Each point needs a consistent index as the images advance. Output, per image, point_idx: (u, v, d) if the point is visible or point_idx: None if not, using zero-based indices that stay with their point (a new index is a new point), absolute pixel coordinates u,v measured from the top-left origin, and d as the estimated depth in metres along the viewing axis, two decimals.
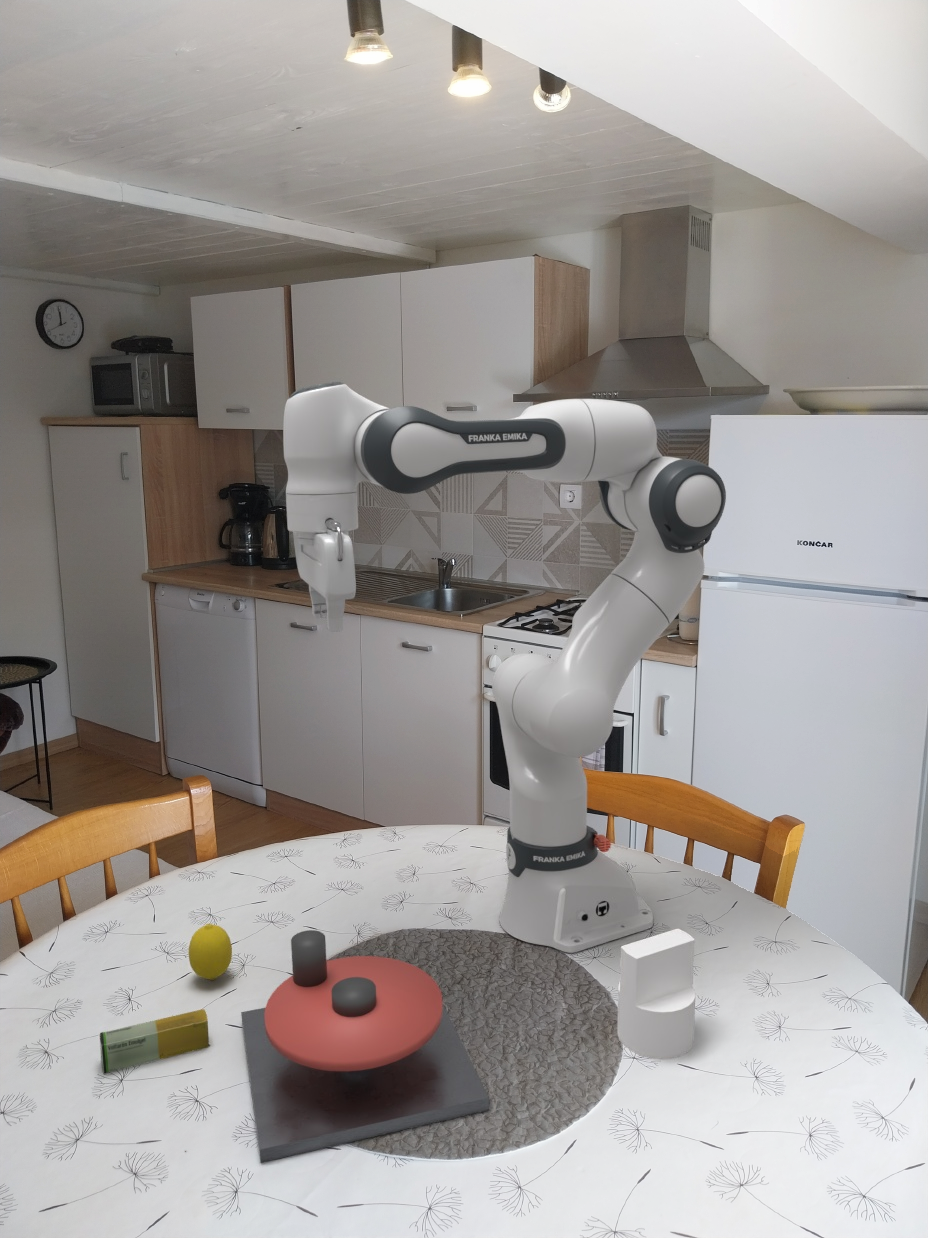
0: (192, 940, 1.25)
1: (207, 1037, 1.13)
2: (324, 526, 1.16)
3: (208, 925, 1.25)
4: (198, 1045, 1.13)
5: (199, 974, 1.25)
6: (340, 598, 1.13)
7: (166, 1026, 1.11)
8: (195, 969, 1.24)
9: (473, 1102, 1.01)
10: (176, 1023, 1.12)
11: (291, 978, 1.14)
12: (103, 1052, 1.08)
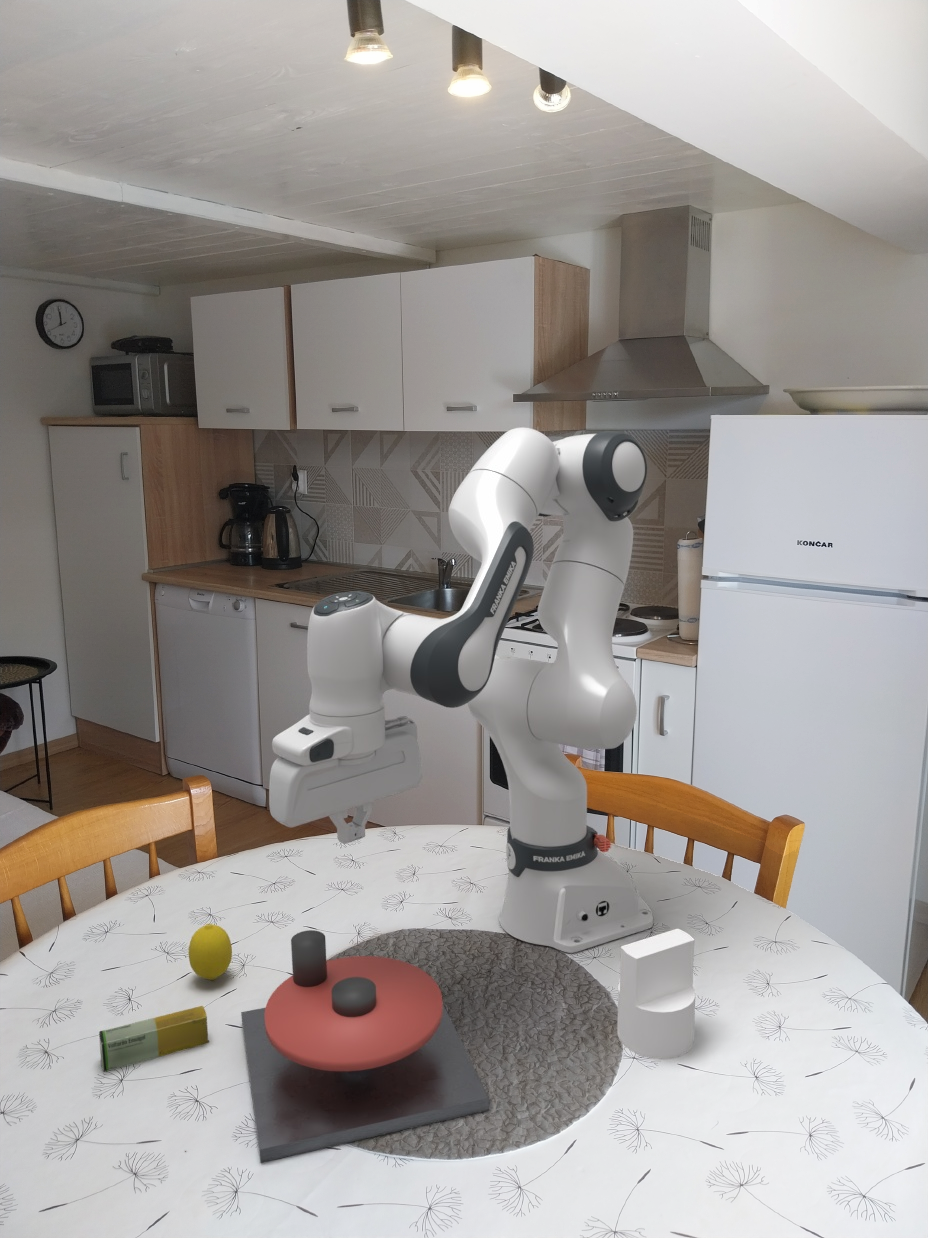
0: (192, 940, 1.25)
1: (206, 1033, 1.14)
2: None
3: (208, 925, 1.25)
4: (198, 1042, 1.13)
5: (199, 974, 1.25)
6: None
7: (165, 1023, 1.12)
8: (195, 969, 1.24)
9: (473, 1102, 1.01)
10: (175, 1020, 1.12)
11: (291, 978, 1.14)
12: (103, 1050, 1.08)
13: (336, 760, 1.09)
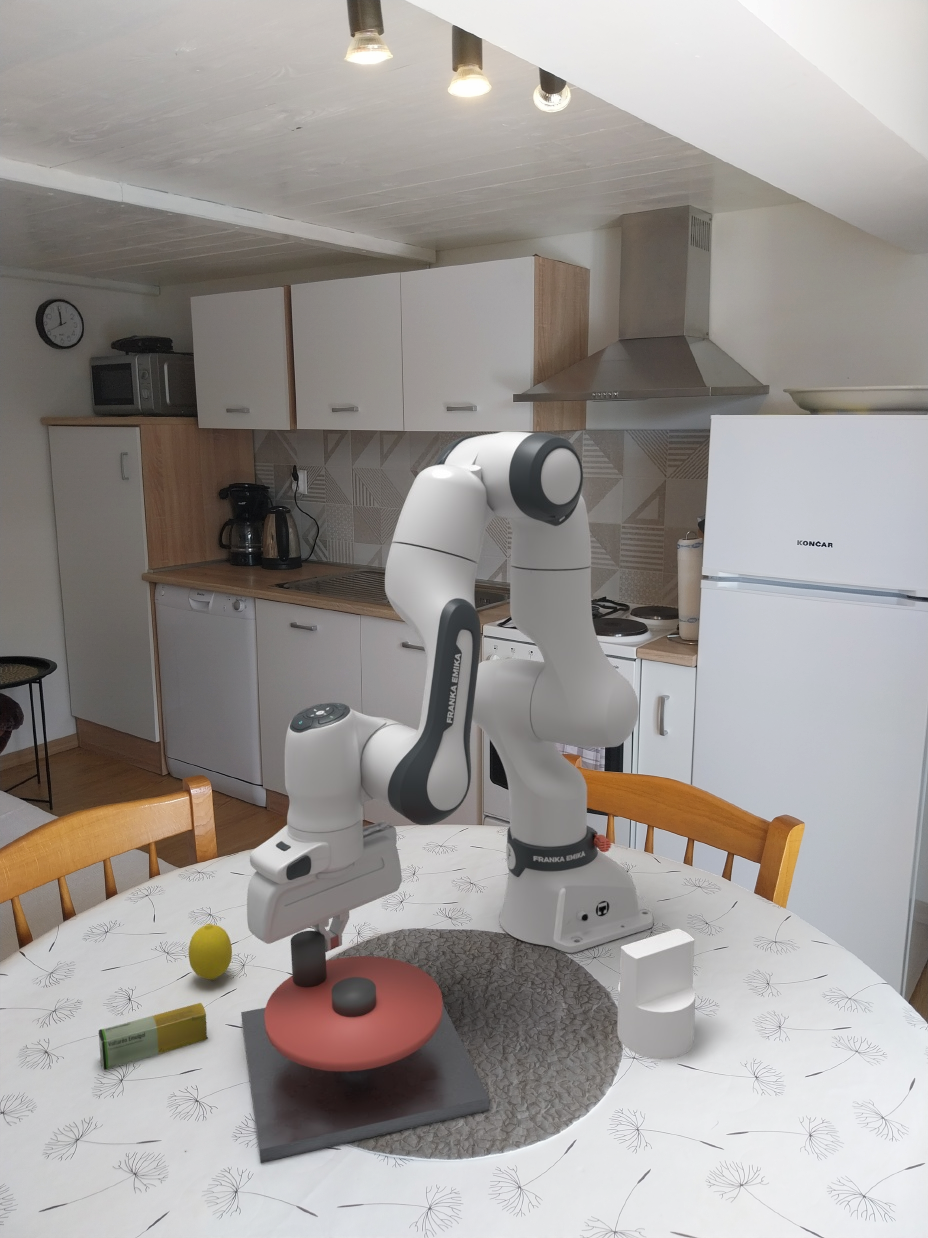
0: (192, 940, 1.25)
1: (205, 1030, 1.14)
2: None
3: (208, 925, 1.25)
4: (197, 1039, 1.14)
5: (199, 974, 1.25)
6: None
7: (165, 1021, 1.12)
8: (195, 969, 1.24)
9: (473, 1102, 1.01)
10: (175, 1017, 1.13)
11: (291, 978, 1.13)
12: (103, 1049, 1.09)
13: (314, 875, 1.09)
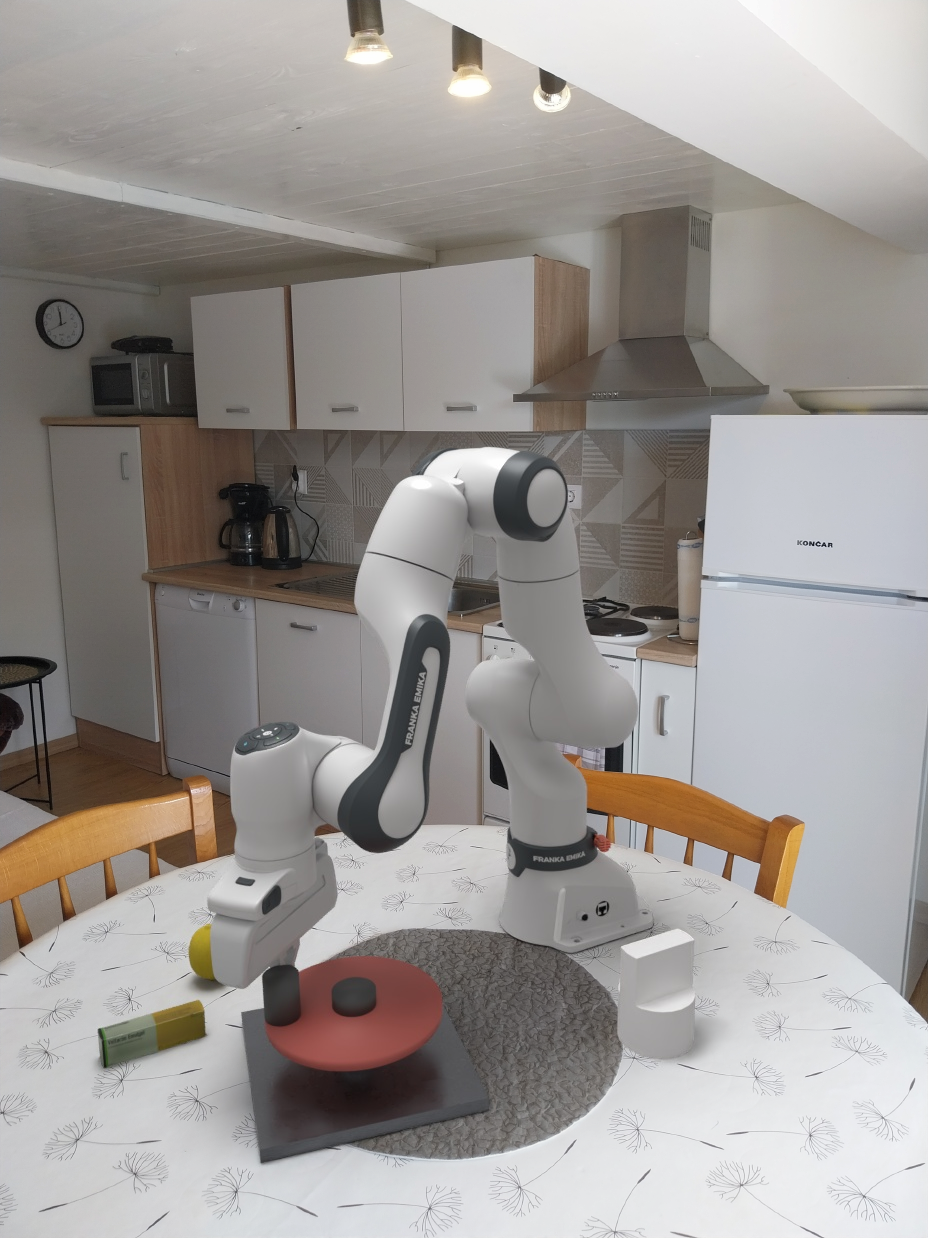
0: (192, 940, 1.25)
1: (204, 1027, 1.15)
2: None
3: (208, 925, 1.25)
4: (196, 1035, 1.15)
5: (199, 974, 1.25)
6: None
7: (164, 1018, 1.13)
8: (195, 969, 1.24)
9: (473, 1102, 1.01)
10: (173, 1015, 1.13)
11: (269, 1026, 1.04)
12: (103, 1047, 1.09)
13: (280, 905, 1.03)
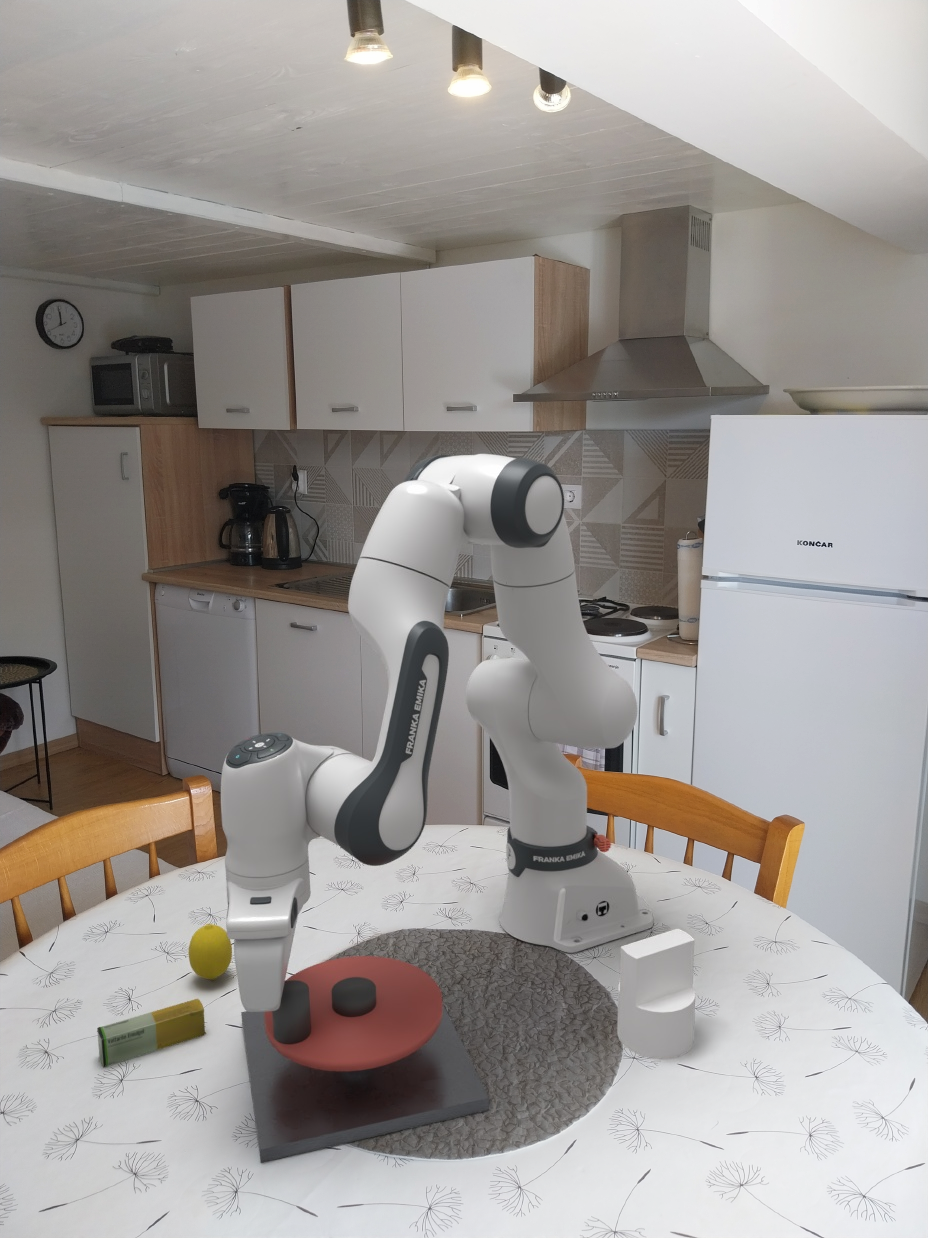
0: (192, 940, 1.25)
1: (203, 1025, 1.15)
2: None
3: (208, 925, 1.25)
4: (195, 1034, 1.15)
5: (199, 974, 1.25)
6: None
7: (163, 1017, 1.13)
8: (195, 969, 1.24)
9: (473, 1102, 1.01)
10: (173, 1013, 1.14)
11: (287, 1045, 1.01)
12: (103, 1046, 1.09)
13: None
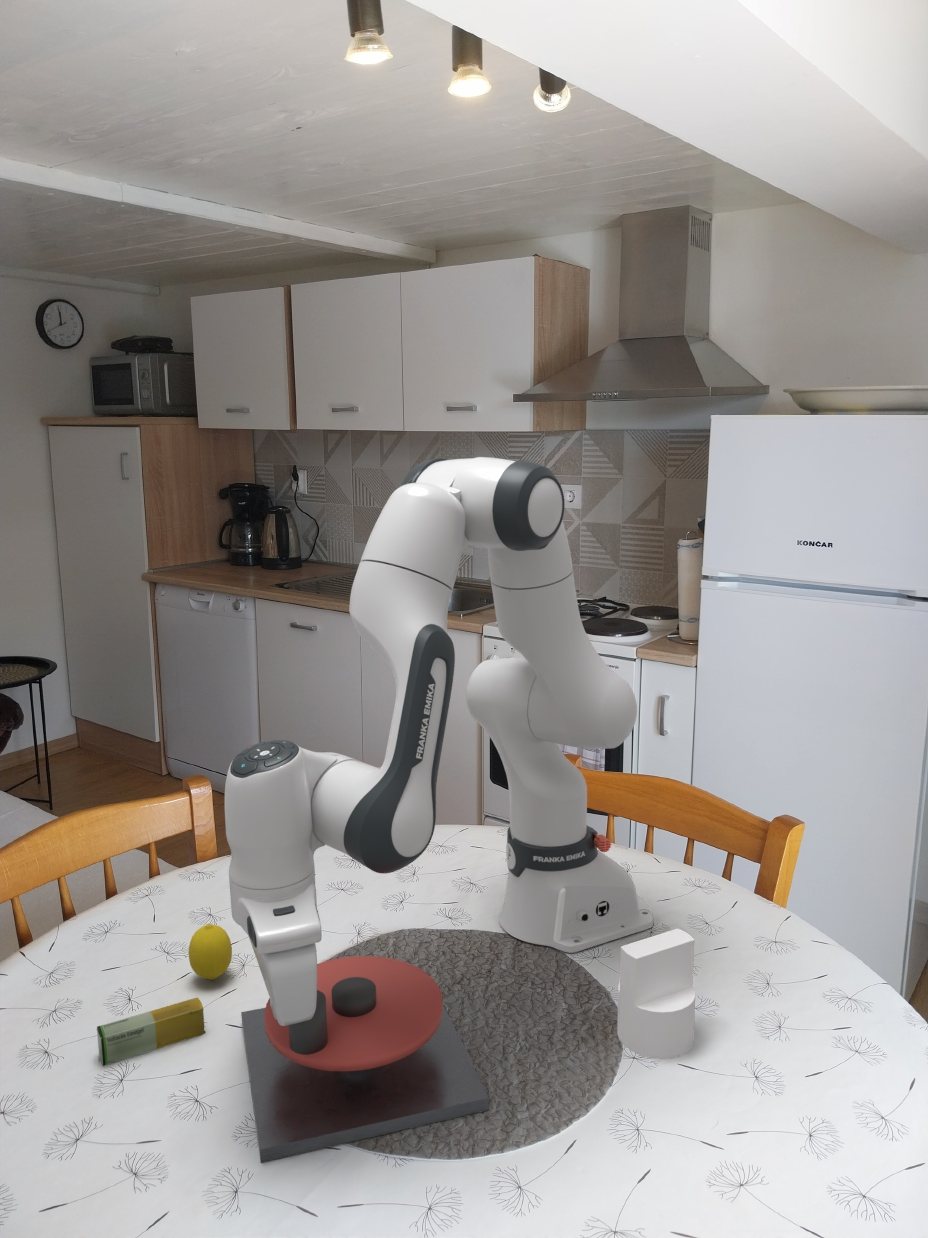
0: (192, 940, 1.25)
1: (203, 1024, 1.15)
2: None
3: (208, 925, 1.25)
4: (194, 1033, 1.15)
5: (199, 974, 1.25)
6: None
7: (163, 1016, 1.13)
8: (195, 969, 1.24)
9: (473, 1102, 1.01)
10: (172, 1012, 1.14)
11: (311, 1055, 0.99)
12: (102, 1045, 1.09)
13: None
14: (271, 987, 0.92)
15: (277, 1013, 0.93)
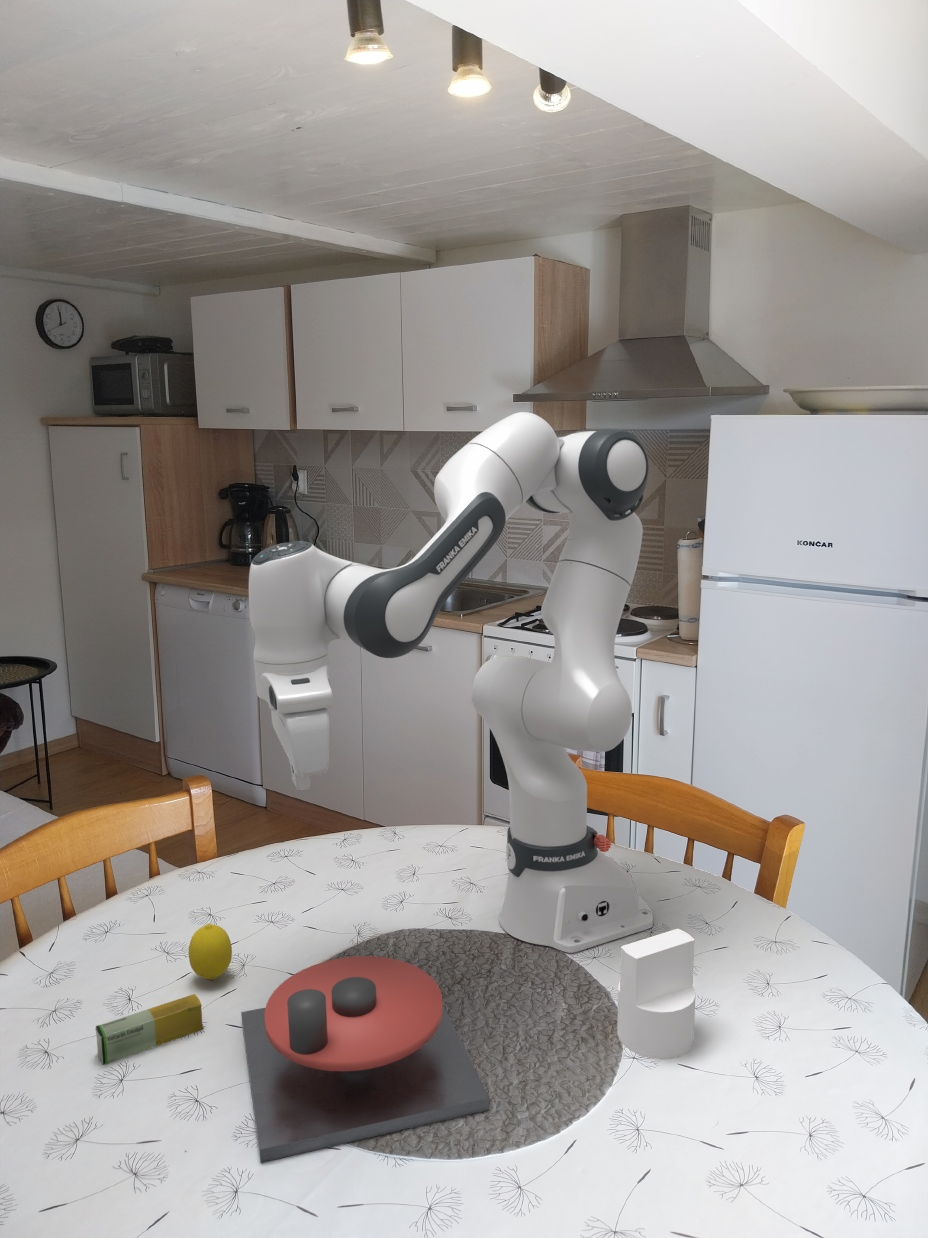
0: (192, 940, 1.25)
1: (201, 1020, 1.16)
2: None
3: (208, 925, 1.25)
4: (193, 1029, 1.16)
5: (199, 974, 1.25)
6: None
7: (161, 1013, 1.14)
8: (195, 969, 1.24)
9: (473, 1102, 1.01)
10: (171, 1009, 1.14)
11: (311, 1055, 0.99)
12: (102, 1044, 1.10)
13: None
14: (289, 741, 1.07)
15: (295, 764, 1.07)
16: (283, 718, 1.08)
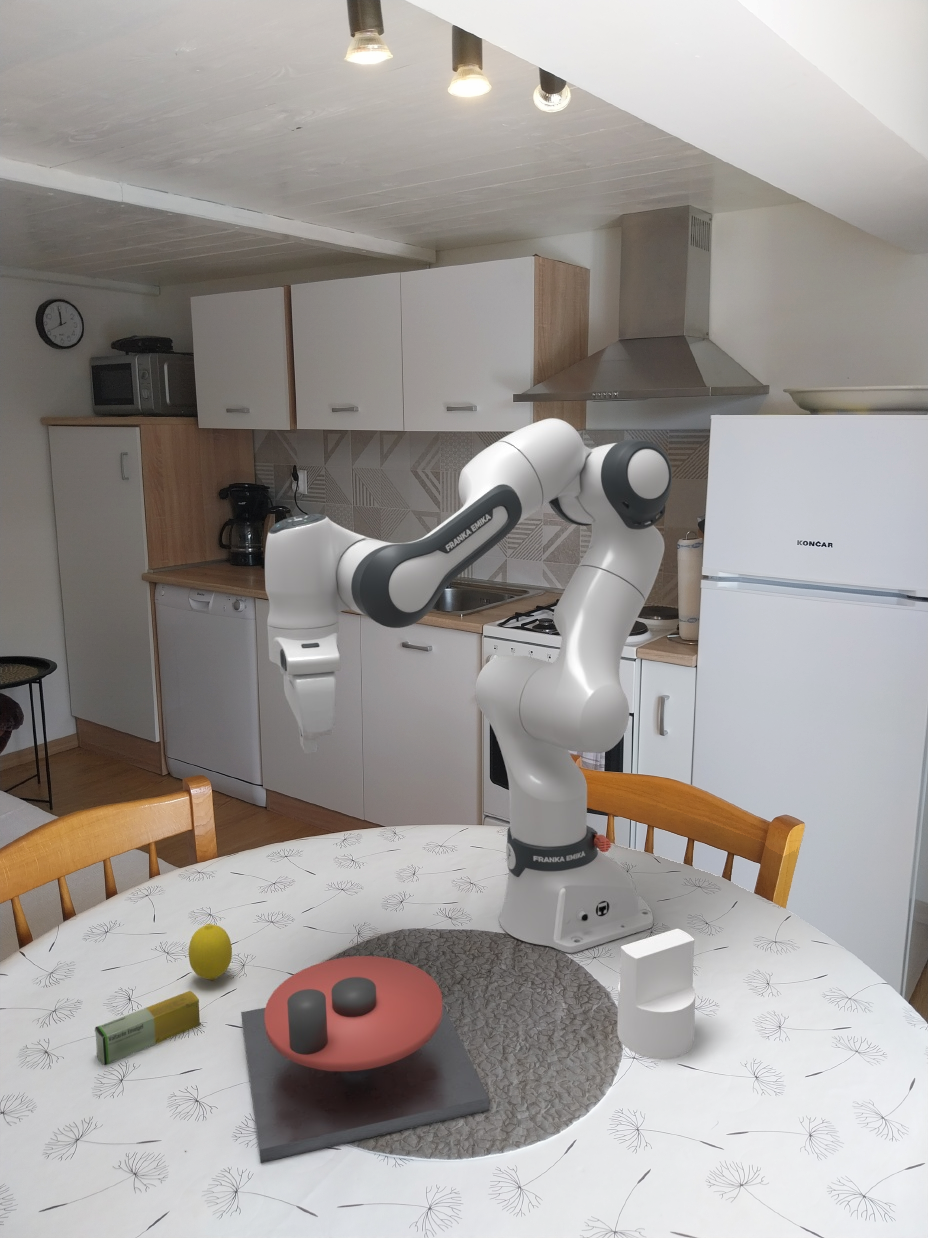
0: (192, 940, 1.25)
1: (198, 1016, 1.17)
2: None
3: (208, 925, 1.25)
4: (191, 1025, 1.17)
5: (199, 974, 1.25)
6: None
7: (160, 1010, 1.14)
8: (195, 969, 1.24)
9: (473, 1102, 1.01)
10: (169, 1007, 1.15)
11: (311, 1055, 0.99)
12: (104, 1044, 1.10)
13: None
14: (297, 702, 1.12)
15: (302, 724, 1.12)
16: (292, 679, 1.13)
